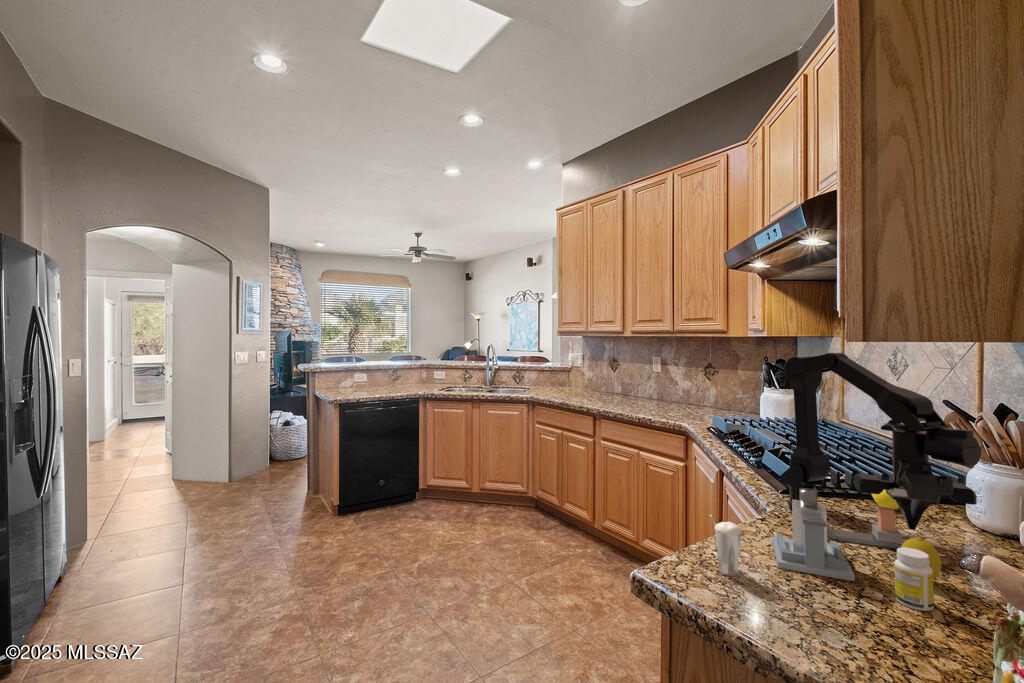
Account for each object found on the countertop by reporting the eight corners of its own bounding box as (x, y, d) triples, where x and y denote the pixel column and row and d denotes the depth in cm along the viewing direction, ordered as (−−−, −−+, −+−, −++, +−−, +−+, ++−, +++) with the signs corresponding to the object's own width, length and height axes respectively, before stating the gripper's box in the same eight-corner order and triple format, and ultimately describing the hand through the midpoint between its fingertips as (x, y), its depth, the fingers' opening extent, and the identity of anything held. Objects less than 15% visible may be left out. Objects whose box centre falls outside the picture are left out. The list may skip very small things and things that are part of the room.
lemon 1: (906, 511, 117) (909, 491, 116) (898, 516, 114) (901, 495, 113) (874, 500, 122) (877, 481, 122) (865, 504, 120) (868, 484, 119)
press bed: (772, 541, 98) (771, 495, 98) (838, 551, 93) (838, 503, 93) (778, 568, 86) (777, 516, 86) (855, 582, 81) (854, 526, 81)
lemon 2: (893, 578, 82) (892, 534, 83) (910, 572, 85) (909, 529, 85) (931, 593, 77) (930, 546, 77) (948, 586, 80) (947, 540, 80)
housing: (792, 545, 94) (791, 484, 94) (825, 551, 91) (823, 488, 91) (793, 555, 89) (792, 492, 89) (827, 562, 86) (826, 496, 86)
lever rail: (823, 532, 103) (823, 523, 103) (913, 544, 96) (913, 535, 96) (826, 538, 99) (826, 529, 99) (920, 552, 92) (920, 542, 92)
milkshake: (716, 562, 89) (715, 511, 89) (745, 571, 85) (744, 518, 85) (707, 570, 86) (706, 517, 86) (736, 580, 82) (735, 525, 82)
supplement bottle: (918, 596, 76) (917, 546, 77) (942, 612, 72) (940, 559, 72) (887, 595, 77) (886, 545, 77) (909, 611, 72) (908, 558, 72)
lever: (872, 533, 99) (871, 504, 99) (895, 536, 98) (894, 506, 98) (878, 540, 95) (877, 510, 95) (902, 544, 94) (901, 513, 94)
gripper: (866, 459, 92) (867, 536, 91) (990, 469, 84) (992, 553, 83) (852, 447, 102) (853, 517, 102) (962, 455, 94) (963, 531, 94)
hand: (911, 529), depth 95 cm, fingers closed
